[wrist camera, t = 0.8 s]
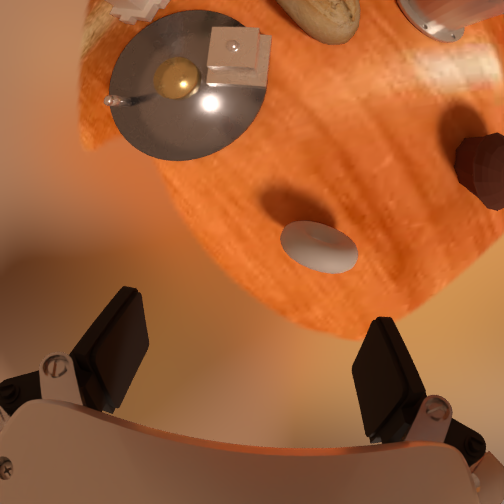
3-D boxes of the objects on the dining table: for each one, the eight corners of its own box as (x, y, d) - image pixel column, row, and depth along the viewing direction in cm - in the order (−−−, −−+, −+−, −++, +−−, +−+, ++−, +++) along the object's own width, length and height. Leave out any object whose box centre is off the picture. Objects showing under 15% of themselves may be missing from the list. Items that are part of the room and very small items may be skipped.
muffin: (442, 191, 33) (481, 211, 24) (450, 121, 29) (492, 124, 20) (489, 202, 33) (526, 222, 24) (498, 140, 28) (537, 150, 19)
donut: (276, 233, 38) (277, 267, 29) (283, 210, 37) (286, 237, 28) (342, 250, 39) (361, 286, 30) (350, 228, 37) (372, 260, 28)
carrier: (153, 2, 25) (127, -21, 17) (296, 43, 27) (303, 19, 19) (94, 131, 33) (56, 135, 25) (222, 185, 36) (207, 202, 28)
